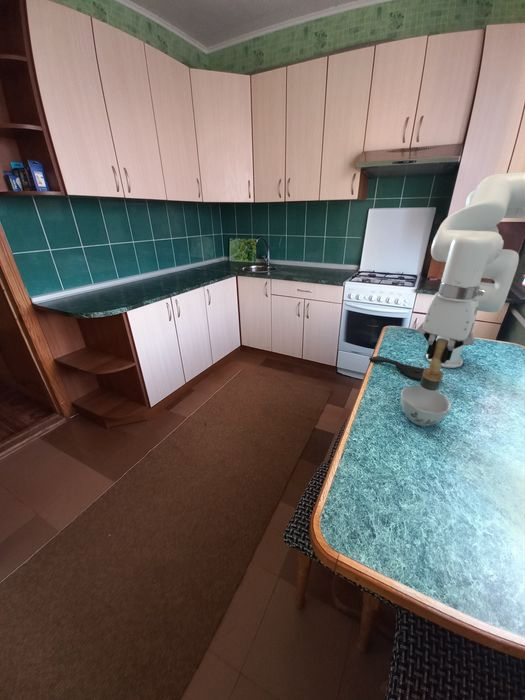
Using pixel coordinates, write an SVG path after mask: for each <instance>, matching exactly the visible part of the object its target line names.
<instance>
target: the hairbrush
mask: <svg viewBox="0 0 525 700" xmlns="http://www.w3.org/2000/svg"><path fill="white" fill-rule="evenodd" d="M372 357H373V358H372ZM368 360H369V361H370V362H376V363H385V364H389V365H394V366H395V367H396V368H397V370H398V371H399V372H400V373H401V374H402V375H404V376H405V377H407V378H409V379H411V380H416V381H421V379H422V376H423V372H424V369H426V368H427V366H426V365H425V366H423V365H420V366H419V365H417V364H413V363H410V362H408V361H407V363H408V364H406V363H404V364H403V363H402V362H399V361H397V360H394V359H391V358H389V357H384V356H370V357H369V358H368ZM412 364H413V365H412Z"/></svg>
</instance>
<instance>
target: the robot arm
mask: <svg viewBox="0 0 525 700" xmlns="http://www.w3.org/2000/svg"><path fill="white" fill-rule="evenodd" d="M523 218H525V171H519V172H517V171H516V172H501V173H495V174H491V175H488V176H487V177H485V178H484V179H482V180H481V181H480V182H479V183H478V185H477V186H476V189H473V190H472V191H471V192H470V193H469V194H468V195H467V197H466V200H465V206H464V207H463V208H461V209H459V210H457V211H455V212H453V213H451V214H449V215H448V216H447V217H446V218H445V219H444V220H443V221H442V222H441V224H440V226H439V227H438V229H437V231H436V233H435V235H434V237H433V240H432V243H431V246H430V247H431V248H430V255H431V257H432V259H433V260H434V261H437V262H441V263H445V265H444V269H443V274H442V277H441V281H440V284H439V288H438V291H437V292H435V294H434V295H433V297H432V299H431V301H430V304H429V305H428V309H427V312H426V314H425V317H424V320H423V322H422V323H421V324H420V325H419V326H418V327H417V329H416V331H417V332H418V334H419V333H420V334H421V335H422V336H423V337H424V339H425V340H426V342H427V345H428V346H427V351H426V355H425V358H426V360H427V361H428V362H429V363H431V359H432V356H433V352H434V348H435V345H436V341H437V339H438V338H443V339H446V340H448V341H449V342H448V346H447V348H446V349H445V351H444V354H443V357H442V361H441V362H442V365H441V368H447V369H453V368H454V369H457V368H460V367H462V366H463V363H464V360H463V359H462V358H461V354H462V351H463V348H464V346H465V347H466V346H472V345H474V344H475V338H474V337H475V336H474V333H473V329H474V326H475V322H476V319H477V314H478V312H484V313H486V312H487V313H498V312H500V311H502V309H503V307H504V305H505V303H506V300H507V298H508V295H509V292H510V289H511V286H512V284H513V280H514V278H515V276H516V272H517V269H518V266H519V262H520V255H519V253H518V251H516V250H514V249H506V248H504V244H505V243H504V242H505V241H504V239H503V236H502V235H501V234H500V233H499V232H500V231H499V228H498V226H497V225H499V224H500V223H501V222H502V221H503V219H523ZM482 279H488V280H489V279H490V280H492V281H493V282H494V283H492V282H482Z"/></svg>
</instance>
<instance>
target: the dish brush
mask: <svg viewBox="0 0 525 700" xmlns="http://www.w3.org/2000/svg"><path fill="white" fill-rule="evenodd" d="M448 342H449V341H448V340H446V339H443V338H438V339H437V341H436V345H435V348H434V352H433V356H432V359H431V362H429V366H428V367H426V368H424V372H423V376H422V379H421V380H420V385H419V386H422V387H423V388H425V389H427V390H431V391H438V390H439V389H440V386H441V383H442V381H443V380H442V379H443V376H444V373H443V371H442V369H441V368H442V366H441V365H442V362H441V361H442V357H443V354H444V351H445V349H446V348H447V346H448Z"/></svg>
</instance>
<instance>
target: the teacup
mask: <svg viewBox="0 0 525 700" xmlns="http://www.w3.org/2000/svg"><path fill="white" fill-rule="evenodd" d="M400 405H401V409H402V411H403V413H404V415H405V416H406V417H407V418H408V420H409V421H410V422H411V423H413V424H414V425H417V426H421V427H427V426H430V425H431V426H432V425H434V424H437V423H439V422H440V421H442V420H443V419H444V418H445V417H447V415H448V413H449V412H450V410H451V408H452V403H451V400H450V399H449V397H447V396H446V395H445V394H443V393H441V392H439V391H438V390H436V391H431V390H427V389H425V388H423V387H422V386H421V385H409V386H405V387H403V389H402V390H401V393H400Z"/></svg>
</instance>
